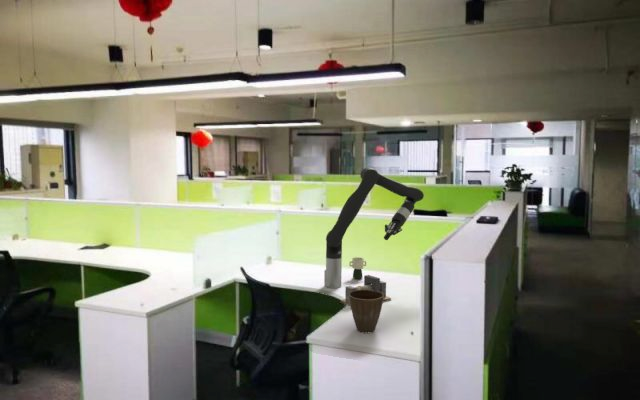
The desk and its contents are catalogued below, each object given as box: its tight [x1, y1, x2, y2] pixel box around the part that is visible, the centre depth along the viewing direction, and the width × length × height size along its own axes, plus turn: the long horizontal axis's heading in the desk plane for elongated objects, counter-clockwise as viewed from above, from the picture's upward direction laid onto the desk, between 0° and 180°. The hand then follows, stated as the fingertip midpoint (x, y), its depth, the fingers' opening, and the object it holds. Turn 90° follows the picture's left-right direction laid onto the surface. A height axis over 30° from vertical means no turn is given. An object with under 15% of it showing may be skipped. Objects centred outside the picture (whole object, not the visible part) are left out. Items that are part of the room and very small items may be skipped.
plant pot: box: [349, 290, 384, 334], centre depth 208 cm, size 15×15×16 cm
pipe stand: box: [340, 280, 392, 307], centre depth 253 cm, size 25×12×9 cm, turn 126°
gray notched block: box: [363, 274, 381, 292], centre depth 255 cm, size 3×9×9 cm, turn 36°
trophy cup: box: [349, 256, 367, 280], centre depth 302 cm, size 11×7×13 cm, turn 99°
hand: (385, 239), depth 272 cm, fingers closed
